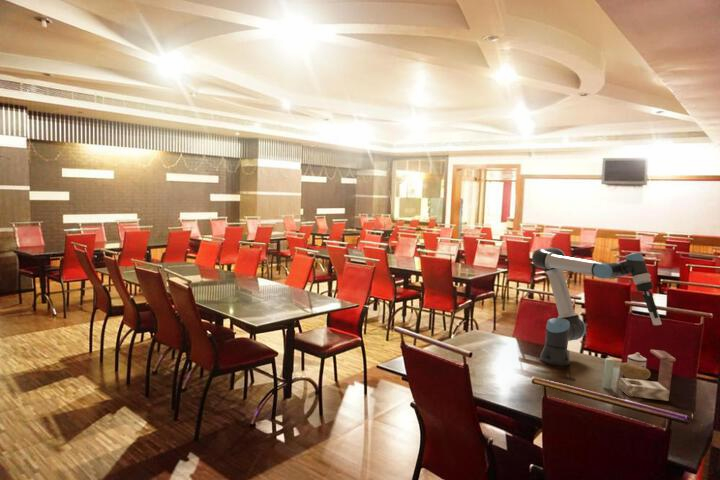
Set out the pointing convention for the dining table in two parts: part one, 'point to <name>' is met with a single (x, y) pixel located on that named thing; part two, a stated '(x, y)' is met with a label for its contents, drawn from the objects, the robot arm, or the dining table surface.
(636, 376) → the potato
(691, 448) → the dining table surface
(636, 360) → the teacup with lid
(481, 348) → the dining table surface
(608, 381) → the peg
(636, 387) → the socket stand
